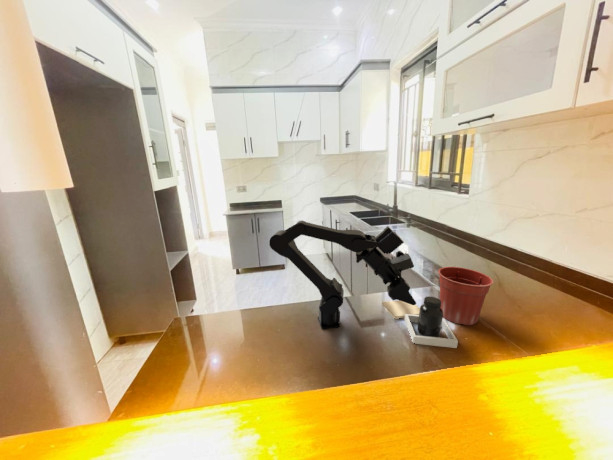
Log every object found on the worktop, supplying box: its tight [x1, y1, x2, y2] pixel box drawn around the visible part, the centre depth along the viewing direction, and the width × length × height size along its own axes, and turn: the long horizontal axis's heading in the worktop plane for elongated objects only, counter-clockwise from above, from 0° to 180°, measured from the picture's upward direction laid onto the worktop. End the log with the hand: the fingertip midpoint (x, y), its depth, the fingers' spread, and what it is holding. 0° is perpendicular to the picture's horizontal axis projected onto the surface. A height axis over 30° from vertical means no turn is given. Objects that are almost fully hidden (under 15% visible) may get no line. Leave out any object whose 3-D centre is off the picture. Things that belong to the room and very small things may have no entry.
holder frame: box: [403, 314, 459, 349], centre depth 82 cm, size 13×13×2 cm
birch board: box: [381, 300, 420, 320], centre depth 96 cm, size 12×10×1 cm
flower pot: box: [437, 266, 494, 326], centre depth 90 cm, size 16×16×16 cm
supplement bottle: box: [416, 295, 444, 338], centre depth 81 cm, size 7×7×12 cm
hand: (411, 296), depth 81 cm, fingers open, 9 cm apart
